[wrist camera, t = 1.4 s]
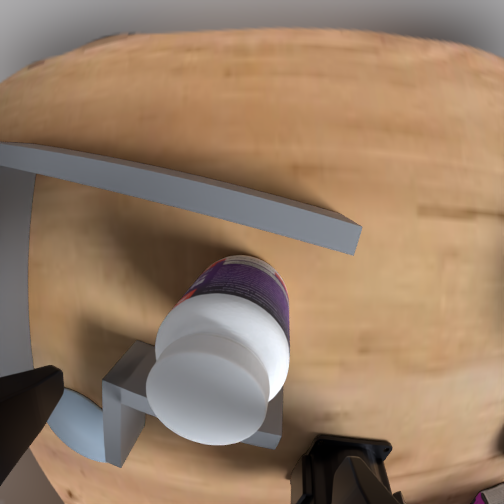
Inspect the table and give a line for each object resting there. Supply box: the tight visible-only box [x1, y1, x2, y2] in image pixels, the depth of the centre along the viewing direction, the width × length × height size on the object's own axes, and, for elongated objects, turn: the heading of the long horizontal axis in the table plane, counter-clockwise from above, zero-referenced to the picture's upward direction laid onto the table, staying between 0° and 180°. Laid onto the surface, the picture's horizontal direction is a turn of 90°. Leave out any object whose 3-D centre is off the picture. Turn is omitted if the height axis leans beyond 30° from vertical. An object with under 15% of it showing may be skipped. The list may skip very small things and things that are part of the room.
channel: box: [0, 142, 362, 468], centre depth 17 cm, size 21×19×5 cm
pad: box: [47, 388, 108, 463], centre depth 23 cm, size 9×9×1 cm
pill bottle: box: [146, 255, 290, 445], centre depth 14 cm, size 5×5×10 cm
